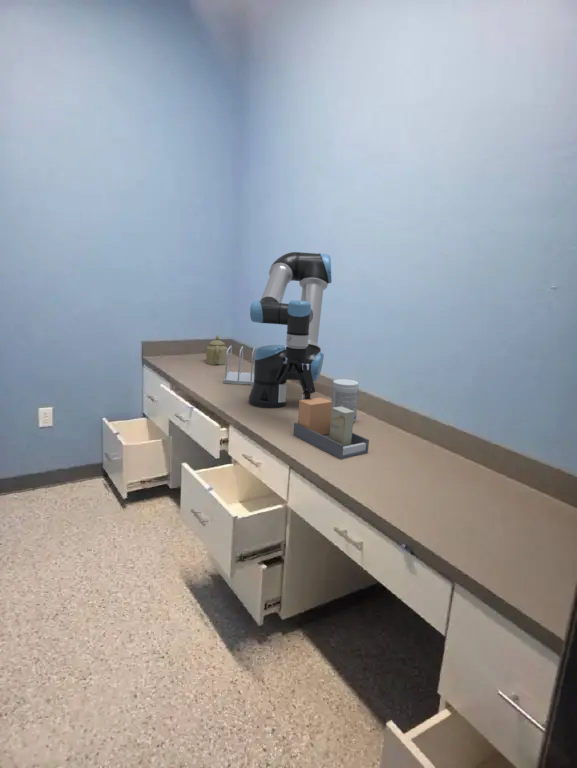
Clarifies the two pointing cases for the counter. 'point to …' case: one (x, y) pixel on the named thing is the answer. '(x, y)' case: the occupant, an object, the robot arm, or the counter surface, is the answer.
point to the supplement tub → (345, 394)
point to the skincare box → (341, 425)
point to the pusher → (315, 414)
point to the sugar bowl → (216, 352)
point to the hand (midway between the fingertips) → (292, 406)
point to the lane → (332, 442)
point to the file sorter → (239, 376)
